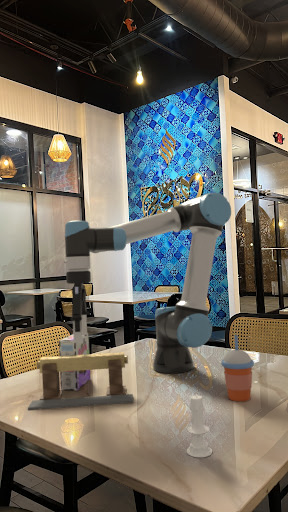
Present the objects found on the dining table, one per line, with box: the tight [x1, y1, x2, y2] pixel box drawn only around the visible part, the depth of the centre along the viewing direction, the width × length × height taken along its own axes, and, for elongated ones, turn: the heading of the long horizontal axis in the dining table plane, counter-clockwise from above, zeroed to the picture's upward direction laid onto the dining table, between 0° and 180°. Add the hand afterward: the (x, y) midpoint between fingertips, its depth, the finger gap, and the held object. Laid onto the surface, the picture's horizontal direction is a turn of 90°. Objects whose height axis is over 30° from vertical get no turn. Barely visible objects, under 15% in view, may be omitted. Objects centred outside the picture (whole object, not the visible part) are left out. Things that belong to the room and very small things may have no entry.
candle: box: [186, 393, 213, 459], centre depth 87 cm, size 5×5×12 cm
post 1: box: [39, 364, 65, 400], centre depth 129 cm, size 6×8×10 cm
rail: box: [36, 351, 129, 374], centre depth 129 cm, size 28×4×4 cm, turn 93°
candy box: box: [58, 332, 91, 392], centre depth 140 cm, size 14×6×16 cm, turn 168°
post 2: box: [105, 360, 127, 396], centre depth 130 cm, size 6×8×10 cm
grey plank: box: [27, 393, 134, 411], centre depth 122 cm, size 30×6×1 cm, turn 93°
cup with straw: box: [221, 334, 255, 402], centre depth 119 cm, size 9×9×18 cm
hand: (80, 338), depth 129 cm, fingers open, 13 cm apart
